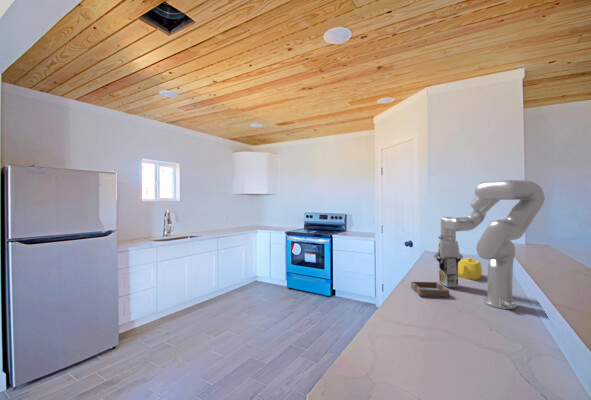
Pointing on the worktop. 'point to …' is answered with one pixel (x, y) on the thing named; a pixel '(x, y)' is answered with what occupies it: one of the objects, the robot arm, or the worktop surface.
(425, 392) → the worktop surface
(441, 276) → the coffee box
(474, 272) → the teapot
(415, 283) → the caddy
